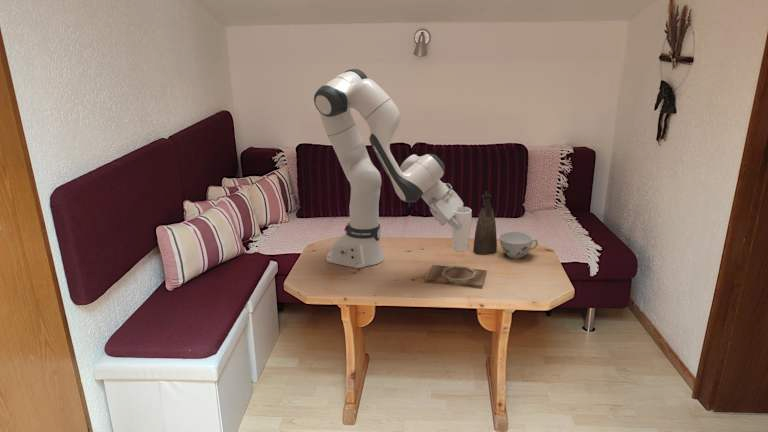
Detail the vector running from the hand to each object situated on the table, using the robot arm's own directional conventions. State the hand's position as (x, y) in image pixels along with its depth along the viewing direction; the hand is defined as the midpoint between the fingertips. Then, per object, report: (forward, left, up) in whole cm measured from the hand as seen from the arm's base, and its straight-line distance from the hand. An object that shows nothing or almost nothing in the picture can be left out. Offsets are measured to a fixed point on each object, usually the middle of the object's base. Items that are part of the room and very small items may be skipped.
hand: (462, 225), depth 189 cm
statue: (+5, +26, -20) cm, 33 cm away
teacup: (+18, +25, -20) cm, 37 cm away
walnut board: (-2, -1, -20) cm, 20 cm away
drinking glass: (-1, 0, -10) cm, 10 cm away
